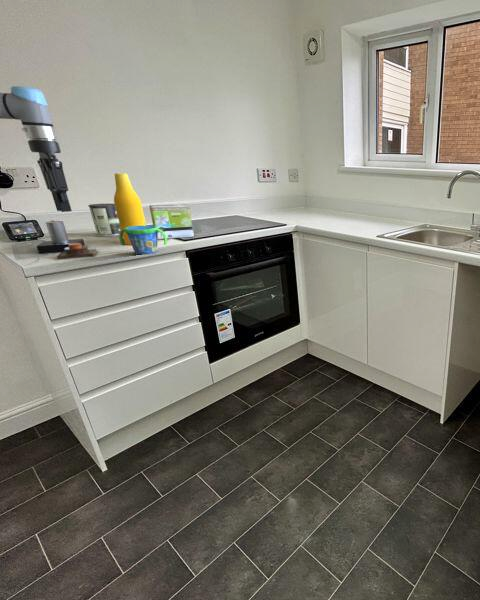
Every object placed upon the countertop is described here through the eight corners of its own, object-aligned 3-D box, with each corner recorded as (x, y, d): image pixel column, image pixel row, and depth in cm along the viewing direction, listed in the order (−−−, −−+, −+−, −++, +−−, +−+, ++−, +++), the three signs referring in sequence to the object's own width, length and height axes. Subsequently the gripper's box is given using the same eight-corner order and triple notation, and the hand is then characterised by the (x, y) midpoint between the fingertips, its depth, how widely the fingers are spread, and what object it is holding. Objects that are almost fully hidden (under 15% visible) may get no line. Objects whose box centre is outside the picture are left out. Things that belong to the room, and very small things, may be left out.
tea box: (158, 240, 161) (150, 207, 156) (155, 236, 168) (148, 204, 163) (194, 237, 170) (189, 205, 165) (190, 233, 177) (185, 203, 172)
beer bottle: (119, 244, 150) (100, 173, 140) (134, 240, 159) (118, 172, 148) (140, 245, 150) (123, 174, 140) (155, 241, 159) (139, 173, 148)
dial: (71, 241, 140) (65, 220, 137) (55, 244, 135) (48, 222, 132) (66, 240, 142) (59, 219, 139) (50, 242, 138) (42, 221, 135)
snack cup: (174, 250, 145) (169, 225, 141) (161, 256, 135) (155, 229, 132) (133, 250, 143) (126, 224, 139) (117, 256, 133) (110, 229, 129)
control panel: (38, 253, 133) (35, 245, 132) (47, 248, 141) (44, 240, 140) (79, 251, 139) (77, 243, 137) (85, 245, 147) (83, 238, 145)
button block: (57, 259, 127) (54, 251, 126) (63, 254, 133) (61, 246, 132) (92, 256, 132) (90, 248, 131) (97, 251, 138) (94, 244, 137)
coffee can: (122, 231, 176) (115, 203, 171) (125, 235, 169) (117, 205, 164) (96, 233, 169) (87, 203, 164) (97, 237, 162) (88, 206, 157)
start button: (68, 250, 129) (67, 245, 129) (71, 248, 132) (69, 243, 132) (81, 249, 131) (79, 244, 130) (83, 247, 134) (82, 242, 133)
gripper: (18, 139, 119) (42, 209, 127) (36, 139, 111) (60, 214, 120) (47, 141, 125) (68, 208, 133) (66, 140, 118) (87, 212, 126)
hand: (64, 210), depth 127 cm, fingers open, 3 cm apart
